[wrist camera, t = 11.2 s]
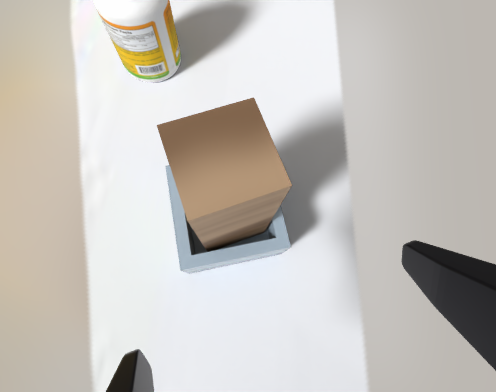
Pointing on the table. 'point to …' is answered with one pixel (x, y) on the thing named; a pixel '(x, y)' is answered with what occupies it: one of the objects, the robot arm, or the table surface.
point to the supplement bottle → (142, 36)
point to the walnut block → (225, 172)
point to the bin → (199, 259)
